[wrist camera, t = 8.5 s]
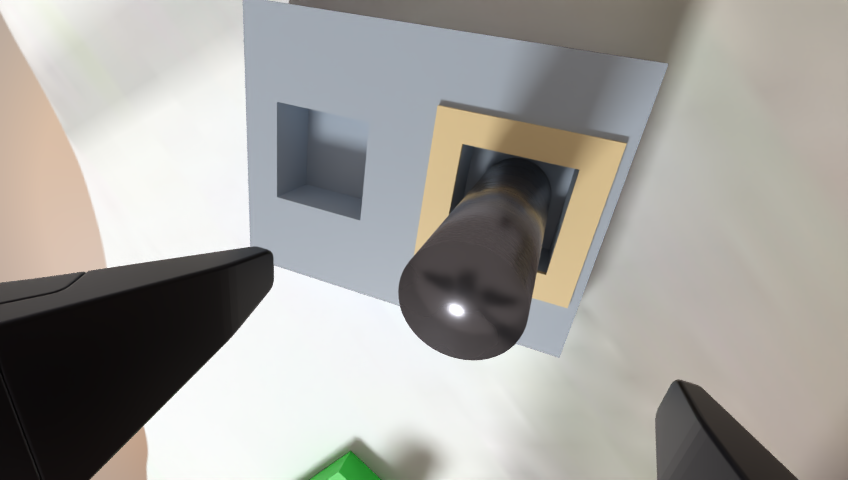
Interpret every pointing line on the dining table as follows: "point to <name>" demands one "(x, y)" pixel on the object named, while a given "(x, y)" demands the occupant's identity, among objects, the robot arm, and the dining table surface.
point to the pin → (480, 265)
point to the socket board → (429, 144)
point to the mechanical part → (346, 470)
